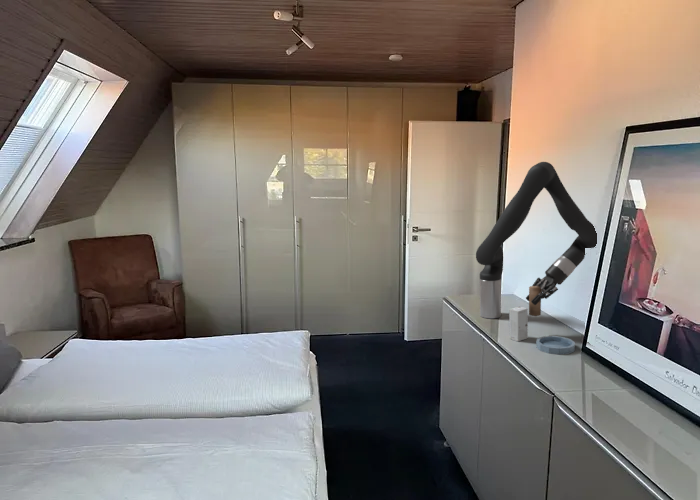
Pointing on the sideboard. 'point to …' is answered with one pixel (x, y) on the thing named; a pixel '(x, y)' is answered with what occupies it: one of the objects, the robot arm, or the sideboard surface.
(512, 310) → the skincare box
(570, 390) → the sideboard surface
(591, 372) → the sideboard surface
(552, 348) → the slate dish
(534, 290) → the walnut canister
